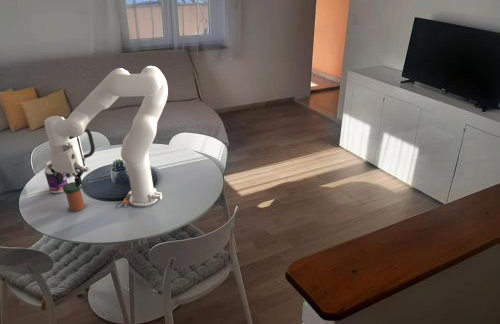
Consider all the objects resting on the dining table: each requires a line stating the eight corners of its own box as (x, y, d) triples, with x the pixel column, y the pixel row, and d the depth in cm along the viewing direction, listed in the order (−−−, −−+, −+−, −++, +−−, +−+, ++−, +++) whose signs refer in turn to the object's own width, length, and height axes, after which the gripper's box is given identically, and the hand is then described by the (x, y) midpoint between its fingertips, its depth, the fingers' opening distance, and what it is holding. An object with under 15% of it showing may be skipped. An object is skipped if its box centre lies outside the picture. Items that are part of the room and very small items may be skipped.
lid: (84, 186, 176) (83, 182, 176) (74, 194, 171) (73, 190, 170) (70, 184, 178) (69, 181, 177) (60, 192, 172) (59, 189, 171)
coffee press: (81, 178, 203) (67, 121, 189) (52, 176, 205) (36, 120, 192) (98, 162, 218) (86, 108, 204) (71, 161, 220) (57, 108, 207)
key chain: (129, 192, 189) (129, 189, 188) (137, 193, 188) (136, 190, 188) (116, 208, 178) (116, 205, 177) (124, 208, 177) (124, 205, 176)
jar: (87, 204, 180) (82, 184, 176) (79, 212, 175) (73, 191, 170) (75, 203, 182) (70, 182, 177) (67, 210, 177) (61, 189, 172)
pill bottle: (62, 194, 189) (54, 167, 182) (46, 193, 190) (38, 166, 184) (72, 186, 196) (65, 159, 189) (57, 184, 197) (49, 158, 191)
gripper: (85, 144, 167) (93, 182, 174) (48, 141, 170) (58, 177, 178) (73, 152, 160) (82, 190, 168) (36, 148, 164) (46, 186, 172)
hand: (70, 184), depth 173 cm, fingers open, 8 cm apart
